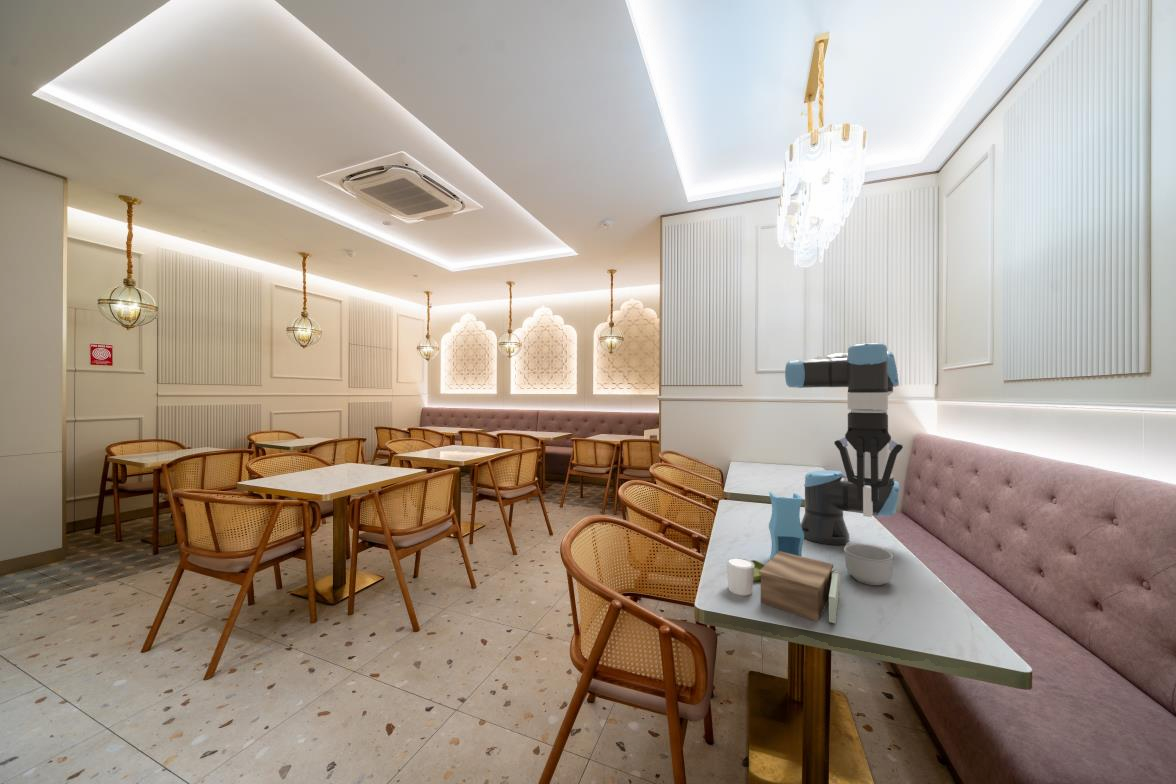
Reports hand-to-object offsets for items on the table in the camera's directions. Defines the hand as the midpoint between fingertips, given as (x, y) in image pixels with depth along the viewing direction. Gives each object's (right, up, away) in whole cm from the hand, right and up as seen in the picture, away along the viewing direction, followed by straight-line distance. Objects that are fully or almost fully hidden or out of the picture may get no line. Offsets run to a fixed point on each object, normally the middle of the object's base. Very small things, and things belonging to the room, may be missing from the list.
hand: (867, 515), depth 90 cm
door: (-7, -22, +2) cm, 23 cm away
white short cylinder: (-25, -23, +11) cm, 35 cm away
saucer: (-17, -23, +20) cm, 35 cm away
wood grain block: (-13, -22, +7) cm, 27 cm away
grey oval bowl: (+12, -23, +18) cm, 32 cm away
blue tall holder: (-5, -23, +28) cm, 36 cm away
